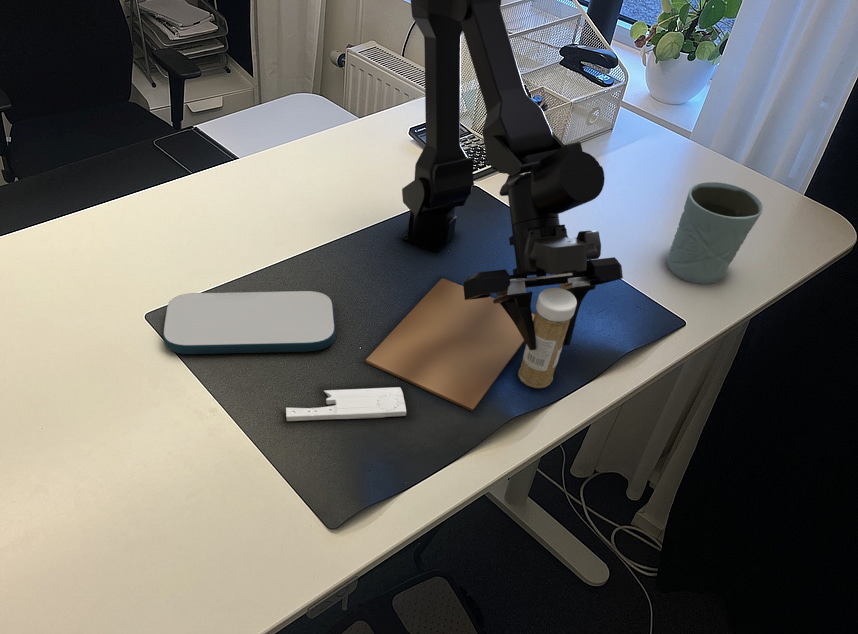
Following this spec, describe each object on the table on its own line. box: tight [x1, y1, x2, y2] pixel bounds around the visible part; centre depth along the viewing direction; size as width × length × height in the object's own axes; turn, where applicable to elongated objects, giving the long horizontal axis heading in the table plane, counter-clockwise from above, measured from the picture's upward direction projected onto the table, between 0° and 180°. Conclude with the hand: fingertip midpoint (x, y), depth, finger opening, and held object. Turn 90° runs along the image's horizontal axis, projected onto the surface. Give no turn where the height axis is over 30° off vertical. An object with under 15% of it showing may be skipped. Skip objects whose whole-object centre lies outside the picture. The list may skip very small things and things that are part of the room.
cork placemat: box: [365, 277, 535, 412], centre depth 105 cm, size 16×22×1 cm
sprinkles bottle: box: [517, 287, 577, 389], centre depth 95 cm, size 5×5×14 cm
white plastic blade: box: [285, 386, 407, 422], centre depth 96 cm, size 5×15×1 cm, turn 94°
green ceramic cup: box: [666, 181, 764, 285], centre depth 113 cm, size 10×10×12 cm
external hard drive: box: [162, 290, 336, 355], centre depth 106 cm, size 24×12×2 cm, turn 93°
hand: (549, 347), depth 94 cm, fingers closed on sprinkles bottle, 4 cm apart
